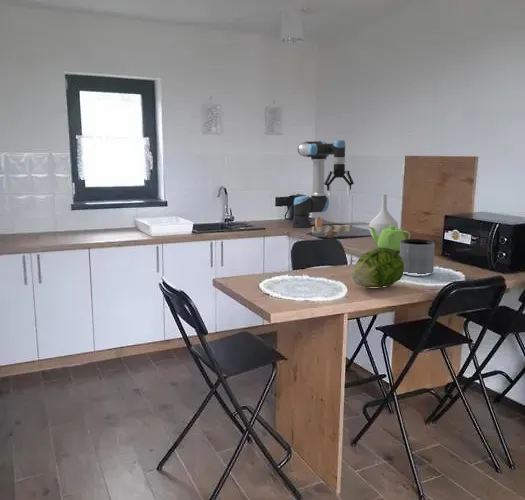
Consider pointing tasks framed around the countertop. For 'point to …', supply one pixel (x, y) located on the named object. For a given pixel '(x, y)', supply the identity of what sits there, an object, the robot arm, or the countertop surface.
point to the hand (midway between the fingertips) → (338, 195)
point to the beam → (331, 230)
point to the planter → (417, 255)
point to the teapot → (390, 237)
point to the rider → (318, 222)
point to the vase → (382, 219)
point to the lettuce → (378, 268)
